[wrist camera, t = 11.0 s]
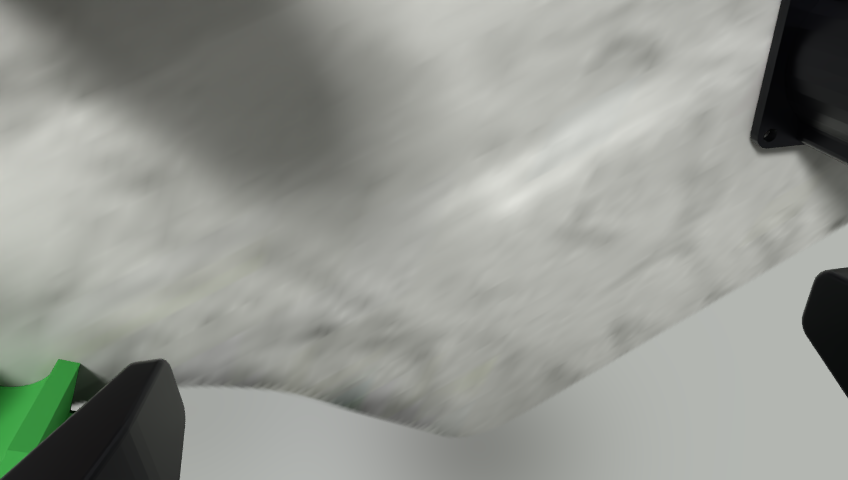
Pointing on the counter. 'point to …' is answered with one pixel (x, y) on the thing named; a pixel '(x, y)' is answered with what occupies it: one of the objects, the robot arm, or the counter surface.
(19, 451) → the pipe clamp
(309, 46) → the counter surface
